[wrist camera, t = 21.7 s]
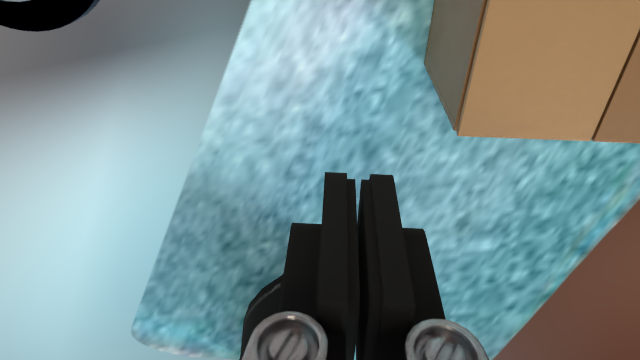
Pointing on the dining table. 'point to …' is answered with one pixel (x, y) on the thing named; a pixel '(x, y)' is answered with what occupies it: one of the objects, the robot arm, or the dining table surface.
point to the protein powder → (261, 309)
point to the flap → (547, 67)
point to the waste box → (458, 54)
